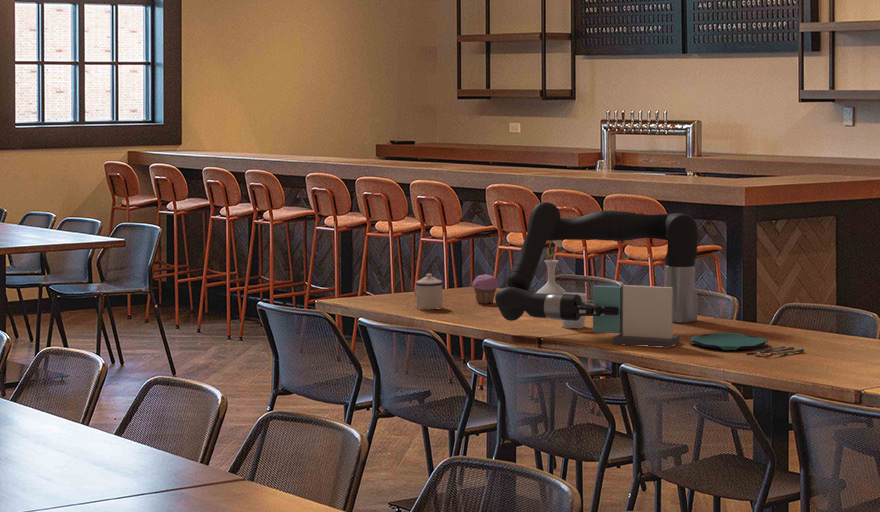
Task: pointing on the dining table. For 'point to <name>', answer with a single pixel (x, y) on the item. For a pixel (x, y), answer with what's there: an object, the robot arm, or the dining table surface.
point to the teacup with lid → (428, 292)
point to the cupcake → (485, 288)
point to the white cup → (578, 323)
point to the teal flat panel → (607, 298)
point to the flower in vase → (552, 274)
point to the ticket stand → (646, 316)
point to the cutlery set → (736, 342)
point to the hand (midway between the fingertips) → (620, 310)
